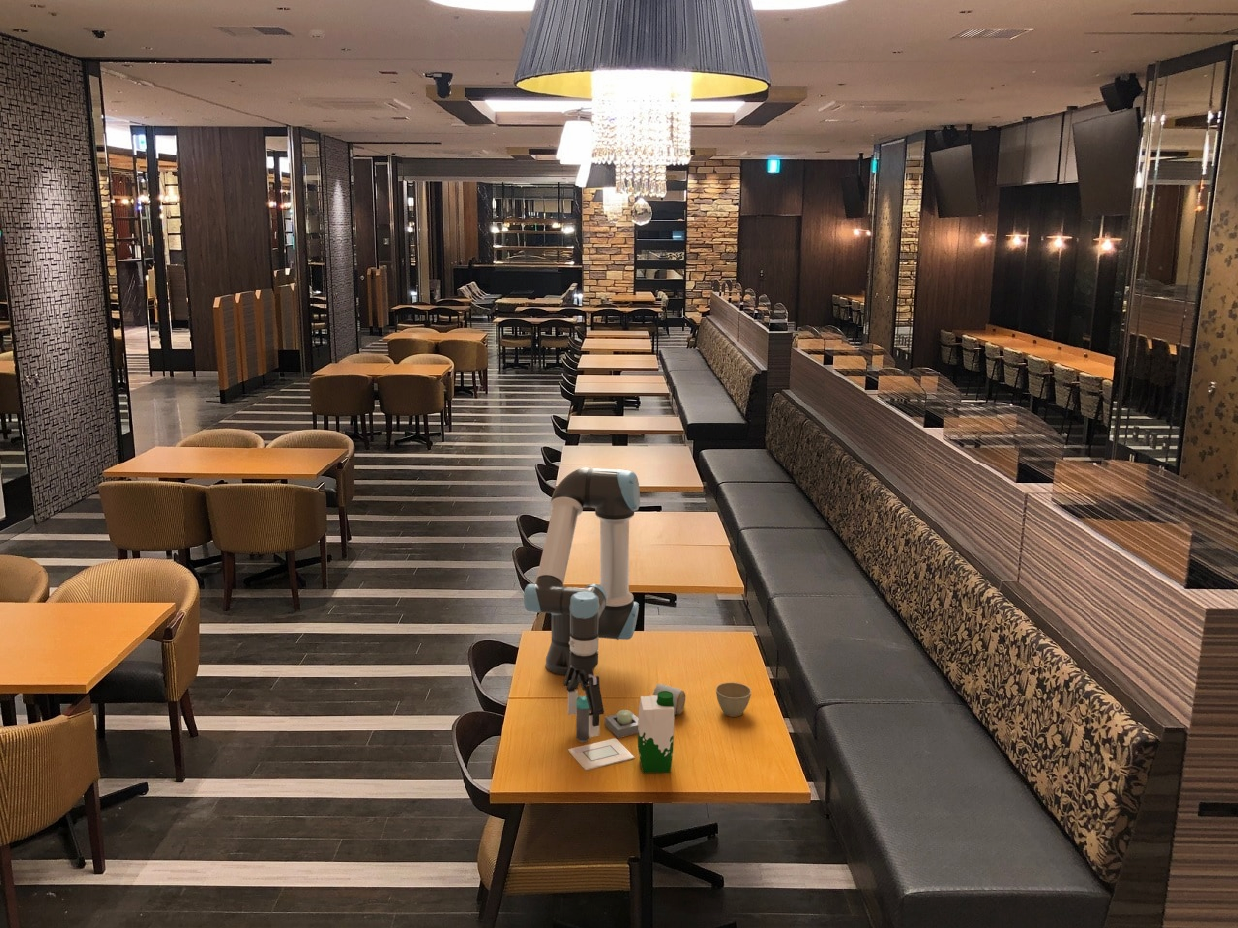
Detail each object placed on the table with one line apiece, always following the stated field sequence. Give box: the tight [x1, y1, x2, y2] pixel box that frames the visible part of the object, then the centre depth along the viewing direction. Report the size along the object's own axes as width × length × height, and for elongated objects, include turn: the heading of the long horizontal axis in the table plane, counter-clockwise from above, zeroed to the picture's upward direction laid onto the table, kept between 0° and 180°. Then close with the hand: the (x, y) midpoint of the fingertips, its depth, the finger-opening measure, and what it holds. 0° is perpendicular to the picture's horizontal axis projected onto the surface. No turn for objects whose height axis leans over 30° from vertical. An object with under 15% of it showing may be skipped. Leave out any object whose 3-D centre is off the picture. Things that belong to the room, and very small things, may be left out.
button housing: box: [604, 712, 639, 739], centre depth 287 cm, size 8×8×2 cm
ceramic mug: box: [652, 683, 686, 716], centre depth 298 cm, size 11×8×8 cm
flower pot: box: [715, 682, 752, 718], centre depth 297 cm, size 10×10×7 cm
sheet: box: [567, 737, 635, 771], centre depth 274 cm, size 11×14×1 cm
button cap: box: [616, 709, 633, 726], centre depth 287 cm, size 4×4×3 cm
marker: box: [575, 695, 591, 743], centre depth 280 cm, size 4×4×12 cm
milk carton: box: [637, 691, 675, 774], centre depth 266 cm, size 9×9×20 cm
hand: (583, 724), depth 280 cm, fingers open, 13 cm apart
